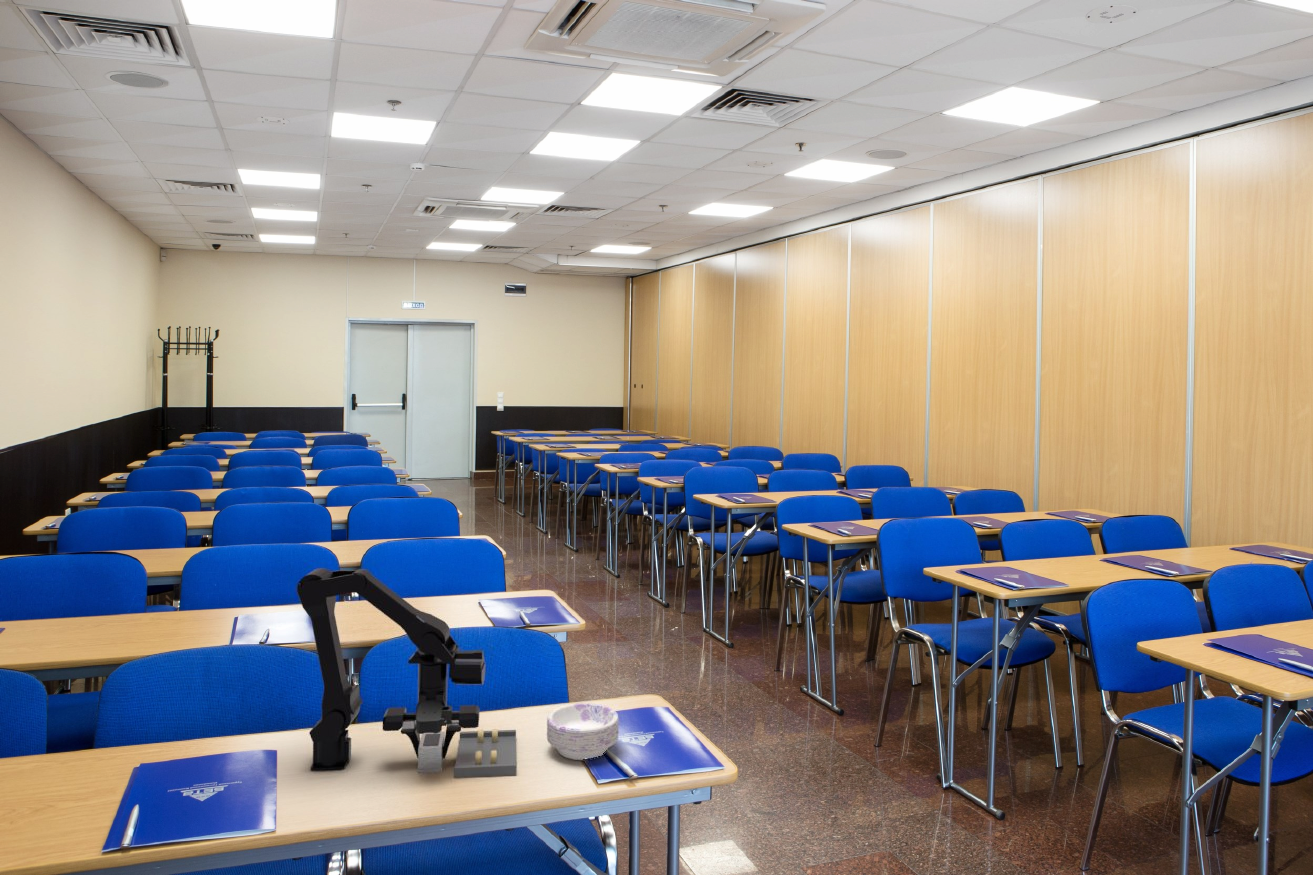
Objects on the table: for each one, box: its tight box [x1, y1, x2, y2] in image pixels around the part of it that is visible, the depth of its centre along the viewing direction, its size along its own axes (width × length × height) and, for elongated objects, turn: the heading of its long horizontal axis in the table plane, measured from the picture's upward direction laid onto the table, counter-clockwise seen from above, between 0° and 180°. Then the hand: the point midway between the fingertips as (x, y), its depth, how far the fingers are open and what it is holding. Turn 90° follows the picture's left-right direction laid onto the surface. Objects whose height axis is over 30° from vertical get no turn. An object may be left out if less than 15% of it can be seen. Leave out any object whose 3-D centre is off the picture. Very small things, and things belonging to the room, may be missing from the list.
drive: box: [417, 731, 446, 774], centre depth 175 cm, size 4×8×5 cm, turn 10°
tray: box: [453, 728, 517, 779], centre depth 179 cm, size 12×18×4 cm, turn 9°
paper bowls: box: [546, 702, 620, 761], centre depth 183 cm, size 15×15×8 cm
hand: (431, 758), depth 175 cm, fingers closed on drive, 4 cm apart
